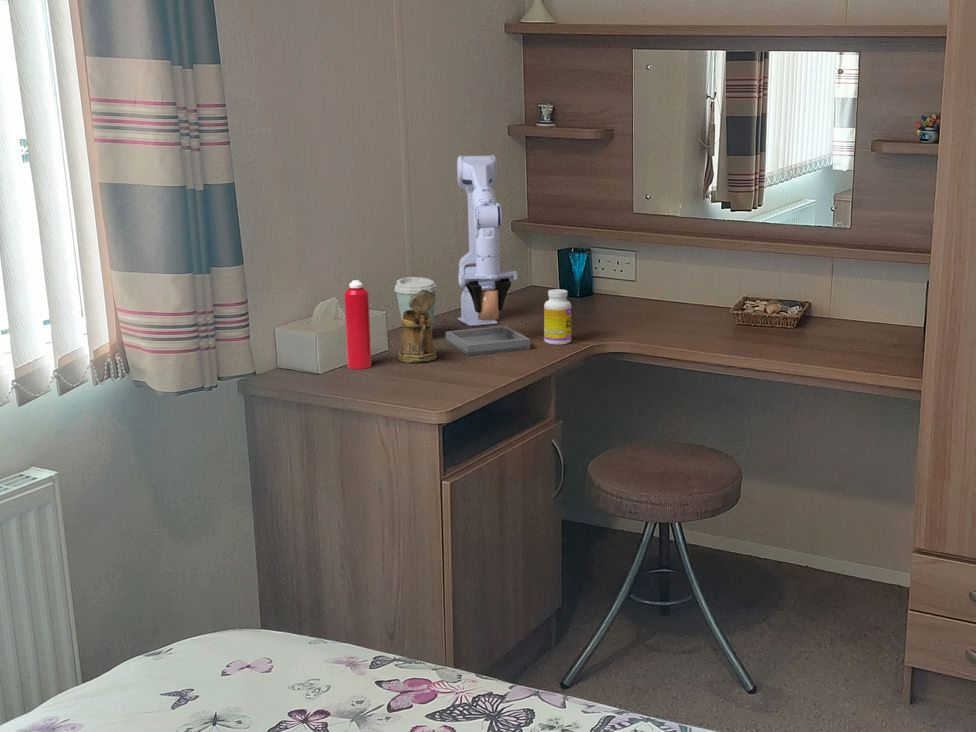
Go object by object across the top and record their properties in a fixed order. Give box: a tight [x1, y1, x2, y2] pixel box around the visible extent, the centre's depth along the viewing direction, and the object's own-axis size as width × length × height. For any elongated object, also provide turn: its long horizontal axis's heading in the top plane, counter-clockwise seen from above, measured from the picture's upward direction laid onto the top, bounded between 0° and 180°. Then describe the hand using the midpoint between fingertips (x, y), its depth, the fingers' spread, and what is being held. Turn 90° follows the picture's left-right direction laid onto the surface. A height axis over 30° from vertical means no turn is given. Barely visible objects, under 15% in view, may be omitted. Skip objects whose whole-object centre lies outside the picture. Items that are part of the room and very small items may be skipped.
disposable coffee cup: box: [394, 276, 437, 333], centre depth 293 cm, size 11×11×15 cm
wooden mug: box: [397, 290, 437, 364], centre depth 271 cm, size 9×14×18 cm, turn 17°
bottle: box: [343, 279, 372, 370], centre depth 267 cm, size 5×5×20 cm
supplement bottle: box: [543, 288, 572, 346], centre depth 288 cm, size 7×7×13 cm
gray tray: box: [445, 325, 531, 357], centre depth 287 cm, size 16×16×2 cm
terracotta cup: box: [478, 288, 500, 321], centre depth 286 cm, size 5×5×7 cm
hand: (488, 310), depth 286 cm, fingers closed on terracotta cup, 5 cm apart
